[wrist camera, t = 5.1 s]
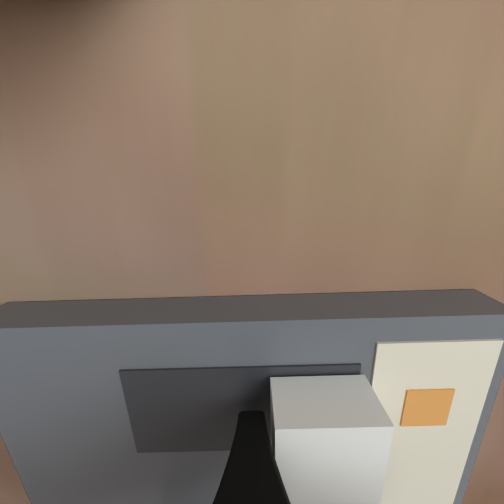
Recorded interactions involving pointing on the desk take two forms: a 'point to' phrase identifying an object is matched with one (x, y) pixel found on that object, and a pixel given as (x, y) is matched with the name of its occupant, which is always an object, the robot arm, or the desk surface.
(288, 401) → the switch tab
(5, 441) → the switch board
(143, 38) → the desk surface
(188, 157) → the desk surface
